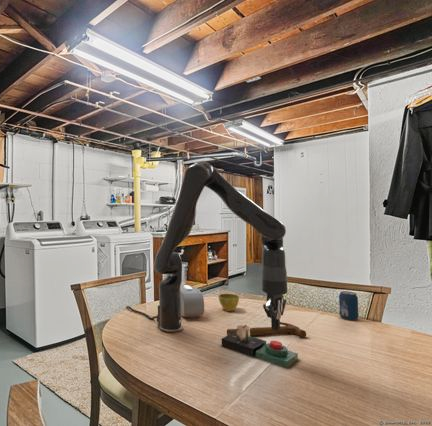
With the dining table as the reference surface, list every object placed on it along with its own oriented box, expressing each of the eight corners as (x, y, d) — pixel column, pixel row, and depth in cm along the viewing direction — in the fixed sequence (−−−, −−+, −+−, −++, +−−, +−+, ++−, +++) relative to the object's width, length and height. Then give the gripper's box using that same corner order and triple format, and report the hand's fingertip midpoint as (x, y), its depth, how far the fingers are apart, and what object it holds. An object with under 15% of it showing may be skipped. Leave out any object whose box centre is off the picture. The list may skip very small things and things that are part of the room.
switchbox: (255, 357, 104) (255, 346, 104) (267, 350, 110) (267, 339, 110) (287, 368, 96) (286, 356, 96) (297, 359, 102) (297, 347, 102)
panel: (221, 346, 114) (221, 338, 114) (235, 339, 120) (235, 331, 120) (253, 357, 104) (253, 348, 104) (266, 349, 111) (266, 340, 111)
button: (268, 347, 103) (268, 342, 103) (273, 344, 106) (272, 339, 106) (279, 351, 101) (279, 345, 101) (284, 348, 103) (283, 342, 103)
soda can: (357, 317, 142) (356, 291, 142) (359, 322, 136) (358, 295, 136) (338, 315, 146) (338, 290, 146) (340, 319, 140) (339, 293, 140)
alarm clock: (204, 320, 142) (204, 291, 142) (184, 320, 142) (183, 292, 142) (193, 307, 163) (193, 282, 163) (175, 307, 163) (175, 282, 163)
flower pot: (214, 307, 161) (214, 294, 161) (231, 306, 164) (231, 292, 164) (226, 313, 151) (225, 299, 151) (243, 311, 154) (243, 297, 154)
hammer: (234, 341, 117) (306, 337, 120) (233, 333, 118) (306, 329, 120) (220, 330, 129) (287, 327, 132) (220, 323, 129) (286, 320, 132)
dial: (246, 343, 109) (246, 329, 109) (235, 339, 112) (234, 326, 112) (252, 339, 112) (251, 326, 112) (240, 336, 115) (240, 323, 115)
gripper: (277, 282, 96) (279, 337, 96) (294, 277, 105) (295, 327, 104) (253, 279, 102) (255, 331, 102) (271, 274, 110) (272, 322, 110)
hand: (275, 329), depth 103 cm, fingers closed
